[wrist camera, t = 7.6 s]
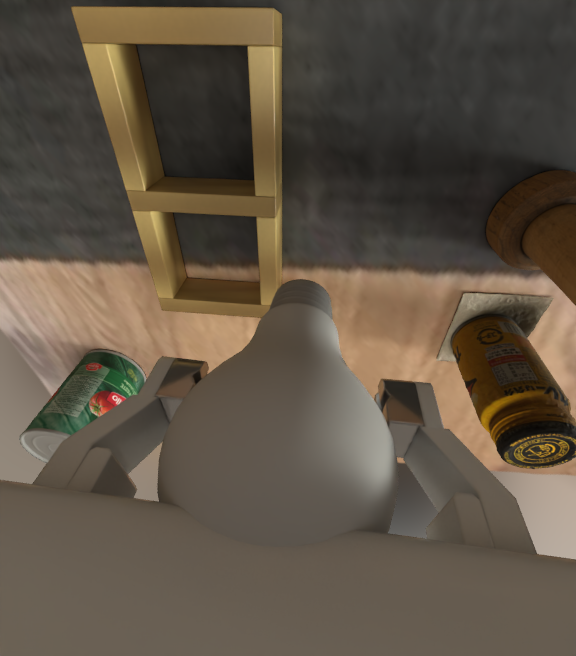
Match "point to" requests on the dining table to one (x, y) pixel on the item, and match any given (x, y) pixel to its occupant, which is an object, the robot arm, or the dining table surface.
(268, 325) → the lightbulb
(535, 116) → the dining table surface
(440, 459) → the robot arm
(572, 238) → the mortar and pestle
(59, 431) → the canned tomato
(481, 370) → the condiment
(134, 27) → the rack
